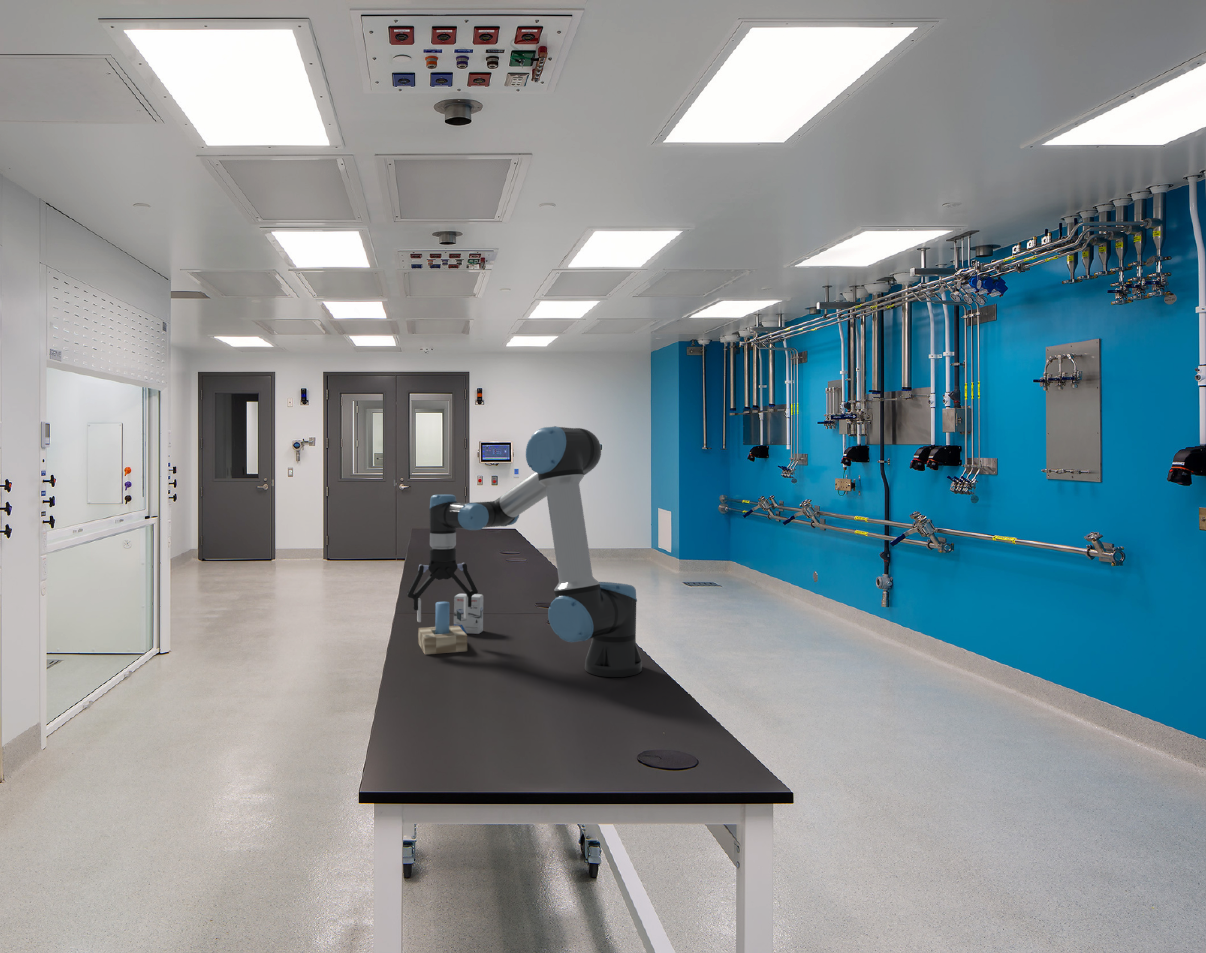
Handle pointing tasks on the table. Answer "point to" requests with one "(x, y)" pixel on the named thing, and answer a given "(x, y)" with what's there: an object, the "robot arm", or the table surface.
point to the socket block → (442, 640)
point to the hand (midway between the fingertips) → (442, 619)
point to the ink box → (469, 614)
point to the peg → (442, 618)
